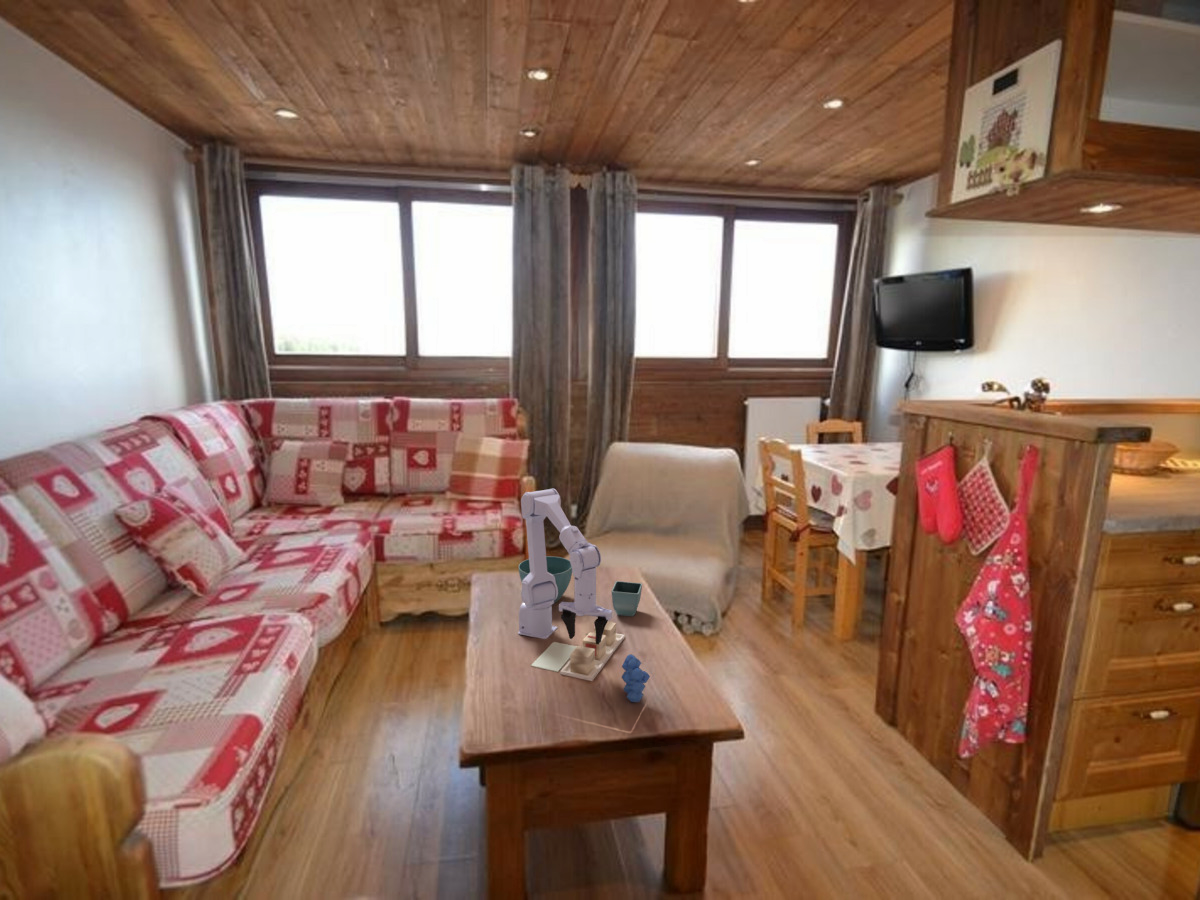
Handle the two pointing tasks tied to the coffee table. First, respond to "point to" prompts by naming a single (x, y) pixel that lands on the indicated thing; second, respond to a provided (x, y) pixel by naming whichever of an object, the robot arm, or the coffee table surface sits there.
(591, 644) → the lettered cube
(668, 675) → the coffee table surface
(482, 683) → the coffee table surface
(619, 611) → the flower pot
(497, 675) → the coffee table surface
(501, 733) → the coffee table surface
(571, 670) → the plain cube near
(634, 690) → the grapes
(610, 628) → the plain cube far
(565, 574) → the teal round bowl
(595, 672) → the sorting tray
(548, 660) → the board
